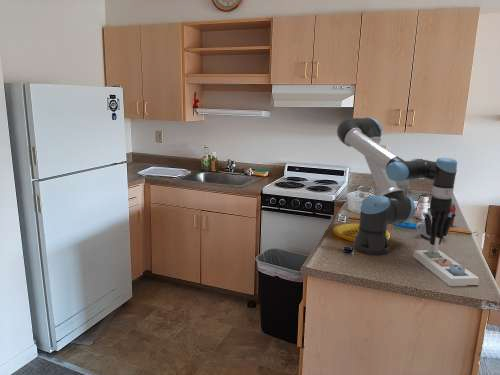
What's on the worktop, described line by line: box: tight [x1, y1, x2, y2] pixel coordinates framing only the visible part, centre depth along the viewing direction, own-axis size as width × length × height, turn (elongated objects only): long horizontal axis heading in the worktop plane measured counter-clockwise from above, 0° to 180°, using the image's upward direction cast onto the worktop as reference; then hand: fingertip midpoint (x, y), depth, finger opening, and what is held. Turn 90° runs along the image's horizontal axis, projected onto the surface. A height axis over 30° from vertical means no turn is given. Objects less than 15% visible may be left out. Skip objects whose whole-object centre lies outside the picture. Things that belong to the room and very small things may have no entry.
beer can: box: [450, 202, 456, 227], centre depth 207 cm, size 7×7×12 cm
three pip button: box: [437, 259, 452, 267], centre depth 153 cm, size 5×5×3 cm
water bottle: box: [395, 179, 411, 197], centre depth 211 cm, size 9×8×25 cm
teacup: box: [415, 218, 437, 240], centre depth 189 cm, size 14×11×8 cm
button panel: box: [413, 249, 480, 287], centre depth 153 cm, size 11×26×3 cm, turn 6°
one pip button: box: [426, 249, 440, 258], centre depth 160 cm, size 5×5×3 cm
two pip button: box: [449, 264, 466, 276], centre depth 145 cm, size 5×5×3 cm
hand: (433, 251), depth 160 cm, fingers closed
